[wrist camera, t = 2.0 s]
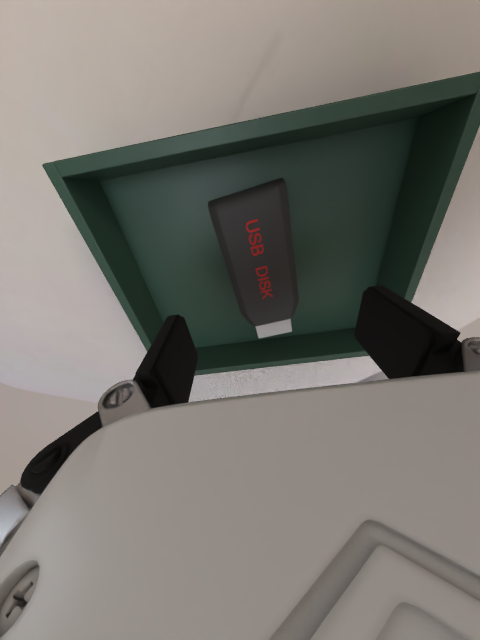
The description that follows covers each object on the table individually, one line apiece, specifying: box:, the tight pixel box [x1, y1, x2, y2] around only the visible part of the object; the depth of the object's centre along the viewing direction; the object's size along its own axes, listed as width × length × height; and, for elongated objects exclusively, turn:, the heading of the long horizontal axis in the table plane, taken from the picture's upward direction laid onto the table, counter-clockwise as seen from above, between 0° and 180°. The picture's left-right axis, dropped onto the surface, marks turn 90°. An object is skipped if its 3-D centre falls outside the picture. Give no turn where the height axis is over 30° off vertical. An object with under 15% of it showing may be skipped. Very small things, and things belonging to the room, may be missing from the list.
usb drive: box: [208, 178, 299, 338], centre depth 16 cm, size 5×12×3 cm, turn 15°
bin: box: [42, 72, 480, 376], centre depth 16 cm, size 22×17×4 cm
